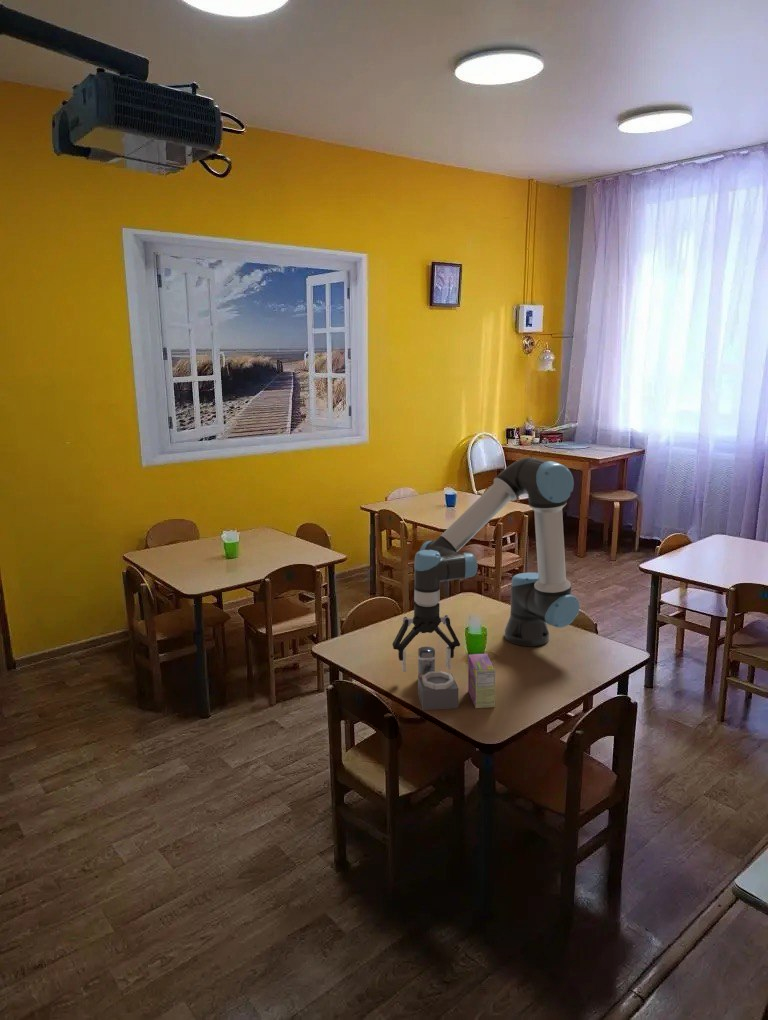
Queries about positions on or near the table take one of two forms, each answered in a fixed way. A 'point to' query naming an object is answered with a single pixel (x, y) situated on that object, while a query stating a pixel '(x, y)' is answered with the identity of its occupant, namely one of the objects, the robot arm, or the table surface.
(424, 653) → the clear grey cylinder
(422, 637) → the table surface
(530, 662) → the table surface
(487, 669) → the box
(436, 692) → the grey holed block
